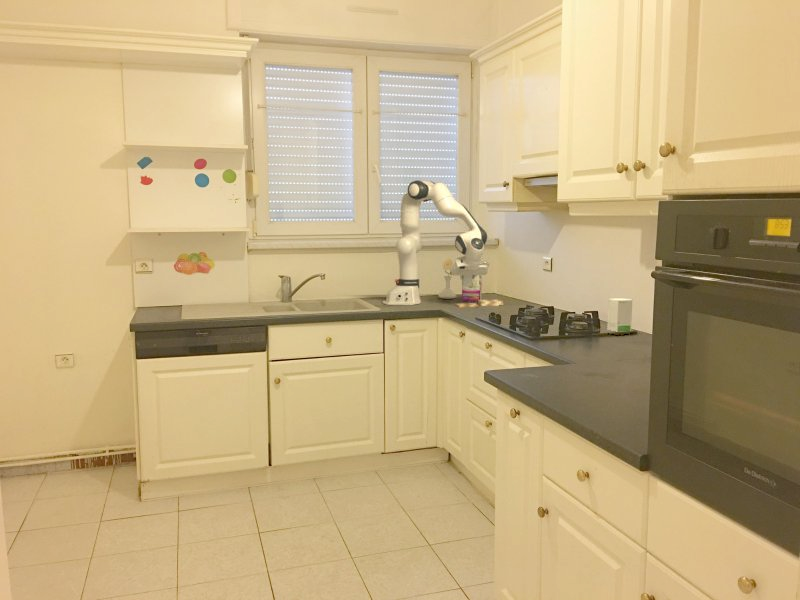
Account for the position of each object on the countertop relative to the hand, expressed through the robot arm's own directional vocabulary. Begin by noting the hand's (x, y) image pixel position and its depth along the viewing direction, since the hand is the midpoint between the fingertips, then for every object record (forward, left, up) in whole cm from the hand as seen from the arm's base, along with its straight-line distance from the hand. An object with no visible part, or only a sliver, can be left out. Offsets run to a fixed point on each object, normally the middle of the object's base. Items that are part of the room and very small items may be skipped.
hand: (467, 278), depth 378 cm
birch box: (+14, 0, -15) cm, 21 cm away
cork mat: (0, -1, -15) cm, 15 cm away
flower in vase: (-4, +30, -16) cm, 34 cm away
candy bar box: (+8, +19, -16) cm, 26 cm away
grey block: (0, -1, -4) cm, 4 cm away
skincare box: (+43, -99, -16) cm, 109 cm away
